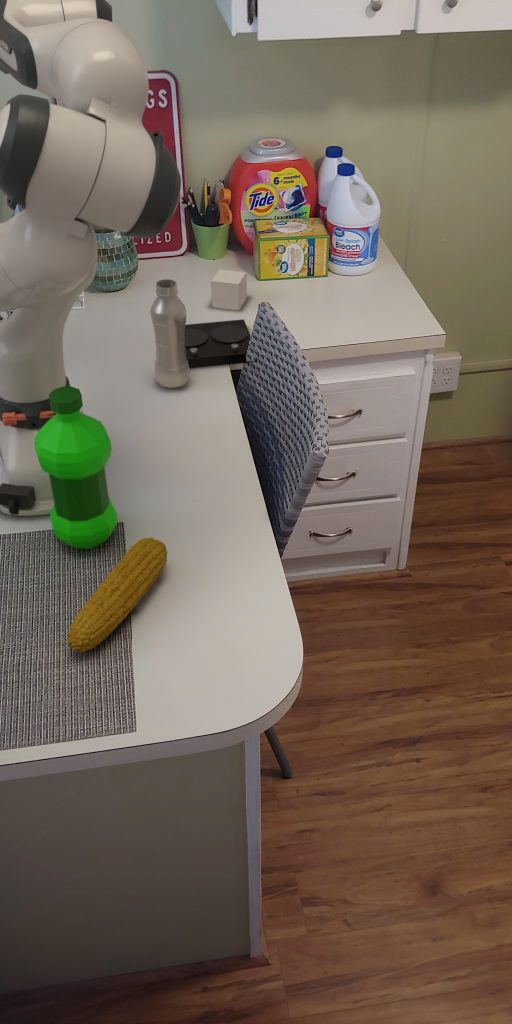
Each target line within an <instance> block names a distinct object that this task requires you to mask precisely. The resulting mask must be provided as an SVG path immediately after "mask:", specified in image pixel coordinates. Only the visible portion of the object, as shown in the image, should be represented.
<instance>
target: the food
mask: <svg viewBox="0 0 512 1024" xmlns="http://www.w3.org/2000/svg"><path fill="white" fill-rule="evenodd" d="M167 561H168V550H167V546H166V544H165V543H164V542H163V541H161V540H159V539H155V538H154V537H153V536H150V537H144V538H141V539H140V540H139V539H138V540H137V541H136V542H134V544H132V545H131V546H130V547H129V548H128V549H127V551H126V552H125V554H124V556H122V558H121V560H120V561H118V563H117V564H116V566H115V567H114V568H113V569H112V571H111V572H109V573H108V574H107V576H106V578H105V579H103V581H101V584H100V585H99V586H98V587H97V588H96V591H94V593H93V594H92V595H91V596H90V597H89V599H88V600H87V601H85V603H84V605H83V606H82V607H81V609H80V610H79V612H78V613H77V614H76V616H75V617H74V619H73V621H72V623H71V625H70V627H69V630H68V633H67V635H66V636H67V639H66V642H67V646H68V647H70V649H72V650H73V651H74V652H75V653H84V652H87V651H89V650H91V649H94V648H96V646H98V645H100V644H102V642H103V641H104V640H106V639H107V638H108V636H110V635H111V634H112V632H113V631H115V629H116V628H118V626H119V625H120V624H121V623H122V621H123V620H124V619H126V618H127V616H128V615H129V614H130V612H132V610H133V609H134V607H136V605H137V604H139V602H140V601H141V600H142V599H143V598H144V595H146V594H147V593H148V590H149V589H150V588H151V587H152V585H153V584H154V583H155V582H156V581H157V580H158V578H159V576H160V575H161V574H162V573H163V572H164V569H165V567H166V565H167Z"/></svg>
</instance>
